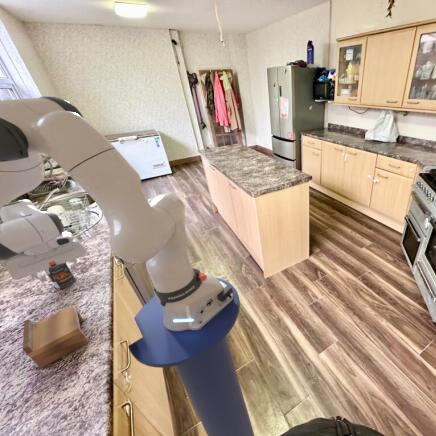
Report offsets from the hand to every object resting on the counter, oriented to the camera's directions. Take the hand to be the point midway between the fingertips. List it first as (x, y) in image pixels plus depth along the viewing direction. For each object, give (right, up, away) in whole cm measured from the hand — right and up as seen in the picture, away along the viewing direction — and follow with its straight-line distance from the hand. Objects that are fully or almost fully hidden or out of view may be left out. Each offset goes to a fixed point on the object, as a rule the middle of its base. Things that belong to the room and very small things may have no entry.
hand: (60, 274), depth 88 cm
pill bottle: (0, -4, +2) cm, 5 cm away
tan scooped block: (+22, -14, -21) cm, 33 cm away
